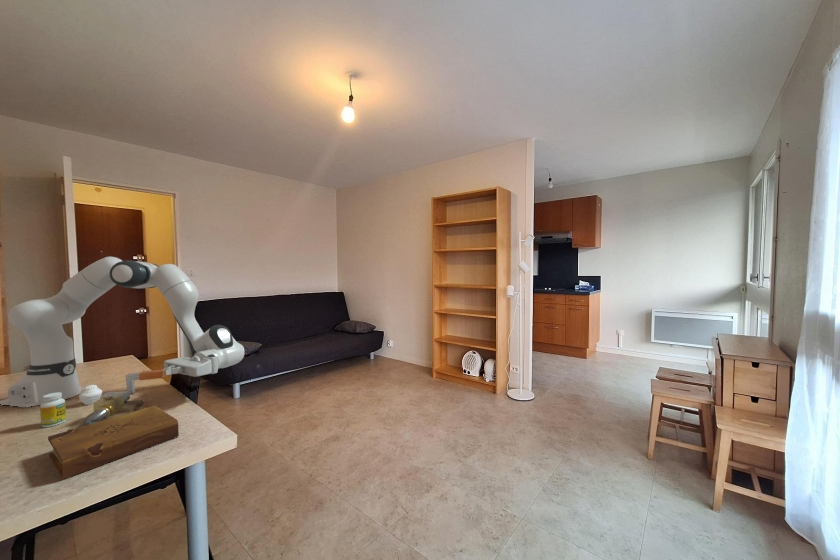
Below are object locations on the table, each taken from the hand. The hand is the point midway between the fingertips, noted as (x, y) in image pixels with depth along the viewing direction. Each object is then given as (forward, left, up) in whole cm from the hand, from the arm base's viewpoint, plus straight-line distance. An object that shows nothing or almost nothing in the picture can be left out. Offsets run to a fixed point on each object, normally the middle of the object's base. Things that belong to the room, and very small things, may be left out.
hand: (163, 372), depth 114 cm
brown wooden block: (+6, -25, -14) cm, 29 cm away
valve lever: (-7, -4, -6) cm, 10 cm away
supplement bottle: (-27, -11, -13) cm, 32 cm away
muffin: (-31, +5, -13) cm, 34 cm away
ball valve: (-13, -7, -13) cm, 20 cm away
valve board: (-13, -7, -13) cm, 20 cm away
